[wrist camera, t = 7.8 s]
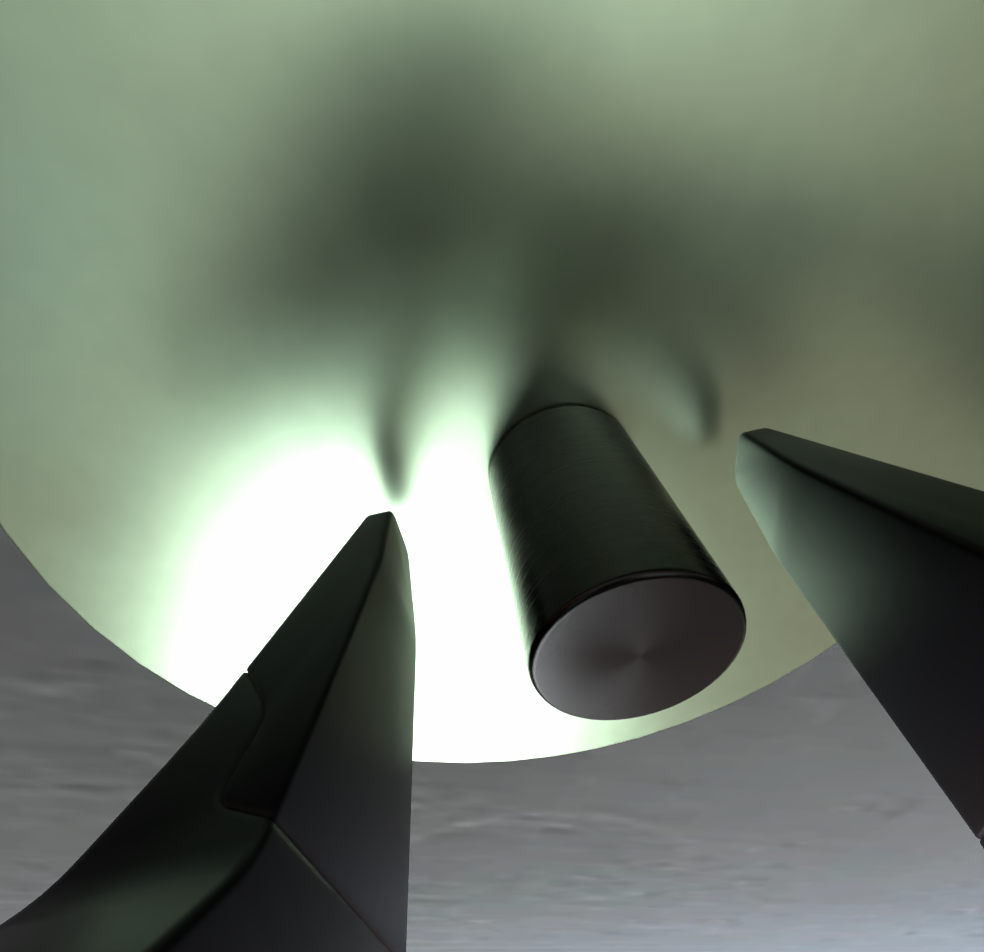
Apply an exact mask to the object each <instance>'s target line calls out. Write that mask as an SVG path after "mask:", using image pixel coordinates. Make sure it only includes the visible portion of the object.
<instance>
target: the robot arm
mask: <svg viewBox="0 0 984 952" xmlns="http://www.w3.org/2000/svg"><path fill="white" fill-rule="evenodd" d="M735 480H736V484H737V487H738V489H739V491H740V492H741V494H742V496H743V498H744V500H745V501H746V503H747V505H748V507H749V509H750V511H751V512H752V514H753V516H754V518H755V520H756V521H757V523H758V525H759V527H760V529H761V531H762V532H763V534H764V536H765V538H766V540H767V541H768V543H769V545H770V547H771V549H772V550H773V552H774V554H775V555H776V557H777V559H778V560H779V562H780V563H781V565H782V566H783V568H784V569H785V571H786V572H787V573H788V575H789V576H790V578H791V579H792V580H793V582H794V583H795V585H796V586H797V587H798V589H799V590H800V592H801V593H802V594H803V596H804V597H805V599H806V600H807V601H808V603H809V604H810V606H811V607H812V608H813V610H814V611H815V612H816V614H817V615H818V617H819V618H820V619H821V621H822V622H823V624H824V625H825V626H826V628H827V629H828V631H829V632H830V633H831V635H832V636H833V638H834V639H835V640H836V642H837V643H838V645H839V646H840V647H841V649H842V650H843V652H844V653H845V654H846V656H847V657H848V659H849V660H850V661H851V663H852V664H853V666H854V667H855V668H856V670H857V671H858V673H859V674H860V675H861V677H862V678H863V680H864V681H865V682H866V684H867V685H868V687H869V688H870V689H871V691H872V692H873V693H874V695H875V696H876V698H877V699H878V700H879V702H880V703H881V705H882V706H883V707H884V709H885V710H886V712H887V713H888V714H889V716H890V717H891V719H892V720H893V721H894V723H895V724H896V726H897V727H898V728H899V730H900V731H901V733H902V734H903V735H904V737H905V738H906V740H907V741H908V742H909V744H910V745H911V747H912V748H913V749H914V751H915V752H916V754H917V755H918V756H919V758H920V759H921V761H922V762H923V763H924V765H925V766H926V768H927V769H928V770H929V772H930V773H931V774H932V776H933V777H934V779H935V780H936V781H937V783H938V784H939V786H940V787H941V788H942V790H943V791H944V793H945V794H946V795H947V797H948V798H949V800H950V801H951V802H952V804H953V805H954V807H955V808H956V809H957V811H958V812H959V814H960V815H961V816H962V818H963V819H964V821H965V822H966V823H967V825H968V826H969V828H970V829H971V830H972V832H973V833H974V835H975V836H976V837H977V838H978V839H981V840H980V844H981V845H982V846H983V848H984V491H981V490H978V489H974V488H971V487H967V486H964V485H961V484H957V483H954V482H950V481H947V480H943V479H940V478H937V477H933V476H930V475H926V474H923V473H919V472H916V471H913V470H909V469H906V468H902V467H899V466H896V465H892V464H889V463H885V462H882V461H878V460H875V459H872V458H868V457H865V456H861V455H858V454H855V453H851V452H848V451H844V450H841V449H837V448H834V447H831V446H827V445H824V444H820V443H817V442H814V441H810V440H807V439H803V438H800V437H796V436H793V435H790V434H786V433H783V432H779V431H776V430H773V429H769V428H761V429H756V430H752V431H748V432H744V433H742V434H741V435H740V436H739V439H738V443H737V454H736V465H735ZM415 670H416V630H415V618H414V607H413V597H412V586H411V575H410V565H409V557H408V552H407V548H406V545H405V542H404V539H403V537H402V534H401V531H400V529H399V526H398V523H397V520H396V518H395V516H394V514H393V513H392V512H391V511H386V512H381V513H377V514H372V515H369V516H367V517H366V518H365V519H364V521H363V522H362V523H361V524H360V526H359V527H358V528H357V529H356V531H355V532H354V533H353V535H352V536H351V537H350V538H349V540H348V541H347V542H346V543H345V545H344V546H343V547H342V548H341V550H340V551H339V552H338V554H337V555H336V556H335V557H334V559H333V560H332V561H331V562H330V564H329V565H328V566H327V567H326V569H325V570H324V571H323V572H322V574H321V575H320V576H319V578H318V579H317V580H316V581H315V583H314V584H313V585H312V586H311V588H310V589H309V590H308V591H307V593H306V594H305V595H304V597H303V598H302V599H301V600H300V602H299V603H298V604H297V605H296V607H295V608H294V609H293V610H292V612H291V613H290V614H289V616H288V617H287V618H286V619H285V621H284V622H283V623H282V624H281V626H280V627H279V628H278V629H277V631H276V632H275V633H274V635H273V636H272V637H271V638H270V640H269V641H268V642H267V643H266V645H265V646H264V647H263V648H262V650H261V651H260V652H259V654H258V655H257V656H256V657H255V659H254V660H253V661H252V662H251V664H250V665H249V666H248V667H247V672H248V673H246V672H245V673H243V674H242V675H241V676H240V677H239V679H238V680H237V681H236V682H235V684H234V685H233V686H232V687H231V689H230V690H229V691H228V692H227V694H226V695H225V696H224V697H223V699H222V700H221V701H220V702H219V703H218V705H217V706H216V707H215V708H214V710H213V711H212V712H211V713H210V714H209V716H208V717H207V718H206V719H205V720H204V722H203V723H202V724H201V725H200V726H199V728H198V729H197V730H196V731H195V732H194V733H193V734H192V736H191V737H190V738H189V739H188V740H187V741H186V742H185V743H184V745H183V746H182V747H181V748H180V749H179V750H178V751H177V752H176V754H175V755H174V756H173V757H172V758H171V759H170V760H169V761H168V763H167V764H166V765H165V766H164V767H163V768H162V769H161V770H160V771H159V772H158V773H157V775H156V776H155V777H154V778H153V779H152V780H151V781H150V782H149V783H148V784H147V785H146V787H145V788H144V789H143V790H142V791H141V792H140V793H139V794H138V795H137V796H136V797H135V798H134V800H133V801H132V802H131V803H130V804H129V805H128V806H127V807H126V808H125V809H124V810H123V812H122V813H121V814H120V815H119V816H118V817H117V818H116V819H115V820H114V821H113V822H112V823H111V825H110V826H109V827H108V828H107V829H106V830H105V831H104V832H103V833H102V834H101V835H100V837H99V838H98V839H97V840H96V841H95V842H94V843H93V844H92V845H91V846H90V847H89V848H88V850H87V851H86V852H85V853H84V854H83V855H82V856H81V857H80V858H79V859H78V860H77V861H76V862H75V863H74V865H73V866H72V867H71V868H70V869H69V870H68V871H67V872H66V873H65V874H64V875H63V876H62V877H61V878H60V879H59V880H58V881H56V882H55V883H54V884H53V885H52V886H51V887H50V888H49V889H48V890H47V891H45V892H44V893H43V894H42V895H41V896H40V897H38V898H37V899H36V900H35V901H33V902H32V903H31V904H29V905H28V906H27V907H26V908H24V909H23V910H22V911H20V912H19V913H17V914H16V915H14V916H13V917H12V918H10V919H9V920H7V921H6V922H4V923H3V924H1V925H0V952H406V934H407V905H408V876H409V846H410V817H411V788H412V758H413V729H414V700H415Z"/></svg>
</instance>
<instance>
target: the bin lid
mask: <svg viewBox="0 0 984 952" xmlns="http://www.w3.org/2000/svg"><path fill="white" fill-rule="evenodd" d="M761 428H769V429H773V430H776V431H779V432H783V433H786V434H790V435H793V436H796V437H800V438H803V439H807V440H810V441H814V442H817V443H820V444H824V445H827V446H831V447H834V448H837V449H841V450H844V451H848V452H851V453H855V454H858V455H861V456H865V457H868V458H872V459H875V460H878V461H882V462H885V463H889V464H892V465H896V466H899V467H902V468H906V469H909V470H913V471H916V472H919V473H923V474H926V475H930V476H933V477H937V478H940V479H943V480H947V481H950V482H954V483H957V484H961V485H964V486H967V487H971V488H974V489H978V490H981V491H984V0H0V525H1V526H2V528H3V530H4V531H5V532H6V534H7V535H8V536H9V537H10V538H11V540H12V541H13V542H14V543H15V545H16V546H17V547H18V548H19V550H20V551H21V552H22V553H23V555H24V556H25V557H26V558H27V560H28V561H29V562H30V563H31V565H32V566H33V567H34V568H35V569H36V571H37V572H38V573H39V574H40V576H41V577H42V578H43V579H44V581H45V582H46V583H47V584H48V585H49V586H50V587H51V588H52V589H53V590H54V591H55V592H56V593H57V594H58V595H59V596H60V597H61V598H62V599H63V600H64V601H65V602H66V603H67V604H68V605H69V606H70V607H71V608H73V609H74V610H75V611H76V612H77V613H78V614H79V615H80V616H81V617H82V618H83V619H84V620H85V621H86V622H87V623H88V624H89V625H90V626H91V627H92V628H93V629H95V630H96V631H97V632H99V633H100V634H101V635H102V636H104V637H105V638H106V639H108V640H109V641H110V642H111V643H113V644H114V645H115V646H117V647H118V648H119V649H120V650H122V651H123V652H124V653H126V654H127V655H128V656H129V657H131V658H132V659H133V660H135V661H136V662H137V663H138V664H140V665H142V666H143V667H145V668H147V669H148V670H150V671H151V672H153V673H155V674H156V675H158V676H159V677H161V678H163V679H164V680H166V681H168V682H169V683H171V684H172V685H174V686H176V687H177V688H179V689H180V690H182V691H184V692H185V693H187V694H189V695H191V696H193V697H195V698H197V699H199V700H201V701H203V702H206V703H208V704H210V705H212V706H214V707H216V706H217V705H218V703H219V702H220V701H221V700H222V699H223V697H224V696H225V695H226V694H227V692H228V691H229V690H230V689H231V687H232V686H233V685H234V684H235V682H236V681H237V680H238V679H239V677H240V676H241V675H242V674H243V673H245V672H246V673H248V672H247V667H248V666H249V665H250V664H251V662H252V661H253V660H254V659H255V657H256V656H257V655H258V654H259V652H260V651H261V650H262V648H263V647H264V646H265V645H266V643H267V642H268V641H269V640H270V638H271V637H272V636H273V635H274V633H275V632H276V631H277V629H278V628H279V627H280V626H281V624H282V623H283V622H284V621H285V619H286V618H287V617H288V616H289V614H290V613H291V612H292V610H293V609H294V608H295V607H296V605H297V604H298V603H299V602H300V600H301V599H302V598H303V597H304V595H305V594H306V593H307V591H308V590H309V589H310V588H311V586H312V585H313V584H314V583H315V581H316V580H317V579H318V578H319V576H320V575H321V574H322V572H323V571H324V570H325V569H326V567H327V566H328V565H329V564H330V562H331V561H332V560H333V559H334V557H335V556H336V555H337V554H338V552H339V551H340V550H341V548H342V547H343V546H344V545H345V543H346V542H347V541H348V540H349V538H350V537H351V536H352V535H353V533H354V532H355V531H356V529H357V528H358V527H359V526H360V524H361V523H362V522H363V521H364V519H365V518H366V517H367V516H369V515H372V514H377V513H381V512H386V511H391V512H392V513H393V514H394V516H395V518H396V520H397V523H398V526H399V529H400V531H401V534H402V537H403V539H404V542H405V545H406V548H407V552H408V557H409V565H410V575H411V586H412V597H413V607H414V618H415V630H416V670H415V700H414V729H413V758H412V761H422V762H451V763H477V762H502V761H516V760H525V759H534V758H543V757H552V756H558V755H563V754H569V753H574V752H580V751H585V750H590V749H596V748H600V747H604V746H608V745H612V744H616V743H620V742H624V741H628V740H631V739H635V738H639V737H643V736H646V735H649V734H652V733H655V732H658V731H661V730H664V729H667V728H670V727H673V726H676V725H679V724H682V723H685V722H687V721H690V720H692V719H694V718H697V717H699V716H702V715H704V714H707V713H709V712H711V711H714V710H716V709H719V708H721V707H724V706H726V705H728V704H730V703H732V702H734V701H736V700H738V699H740V698H742V697H744V696H746V695H748V694H750V693H752V692H755V691H757V690H759V689H761V688H763V687H765V686H767V685H769V684H770V683H772V682H774V681H776V680H777V679H779V678H781V677H782V676H784V675H786V674H788V673H789V672H791V671H793V670H794V669H796V668H798V667H800V666H801V665H803V664H805V663H806V662H808V661H810V660H811V659H813V658H814V657H816V656H817V655H819V654H820V653H822V652H823V651H825V650H826V649H828V648H829V647H830V646H832V645H833V644H835V643H836V640H835V639H834V638H833V636H832V635H831V633H830V632H829V631H828V629H827V628H826V626H825V625H824V624H823V622H822V621H821V619H820V618H819V617H818V615H817V614H816V612H815V611H814V610H813V608H812V607H811V606H810V604H809V603H808V601H807V600H806V599H805V597H804V596H803V594H802V593H801V592H800V590H799V589H798V587H797V586H796V585H795V583H794V582H793V580H792V579H791V578H790V576H789V575H788V573H787V572H786V571H785V569H784V568H783V566H782V565H781V563H780V562H779V560H778V559H777V557H776V555H775V554H774V552H773V550H772V549H771V547H770V545H769V543H768V541H767V540H766V538H765V536H764V534H763V532H762V531H761V529H760V527H759V525H758V523H757V521H756V520H755V518H754V516H753V514H752V512H751V511H750V509H749V507H748V505H747V503H746V501H745V500H744V498H743V496H742V494H741V492H740V491H739V489H738V487H737V484H736V480H735V465H736V454H737V443H738V439H739V436H740V435H741V434H742V433H744V432H748V431H752V430H756V429H761Z"/></svg>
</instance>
